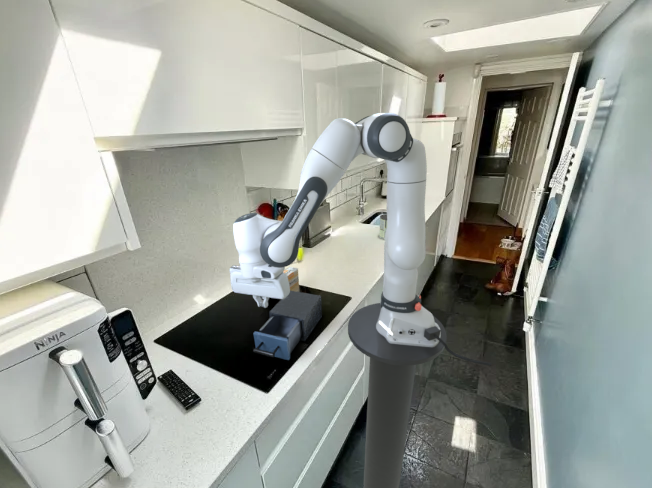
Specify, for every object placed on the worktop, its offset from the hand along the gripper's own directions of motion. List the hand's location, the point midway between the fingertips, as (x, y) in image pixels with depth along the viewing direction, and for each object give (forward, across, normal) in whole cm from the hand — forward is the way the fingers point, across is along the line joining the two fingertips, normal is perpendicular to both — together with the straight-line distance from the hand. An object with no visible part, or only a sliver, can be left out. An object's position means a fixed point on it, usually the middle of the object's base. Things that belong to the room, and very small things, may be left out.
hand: (263, 306), depth 99 cm
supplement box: (+16, -11, +34) cm, 39 cm away
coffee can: (+17, +12, +125) cm, 126 cm away
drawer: (+17, +2, +2) cm, 17 cm away
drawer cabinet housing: (+17, +2, +16) cm, 24 cm away
